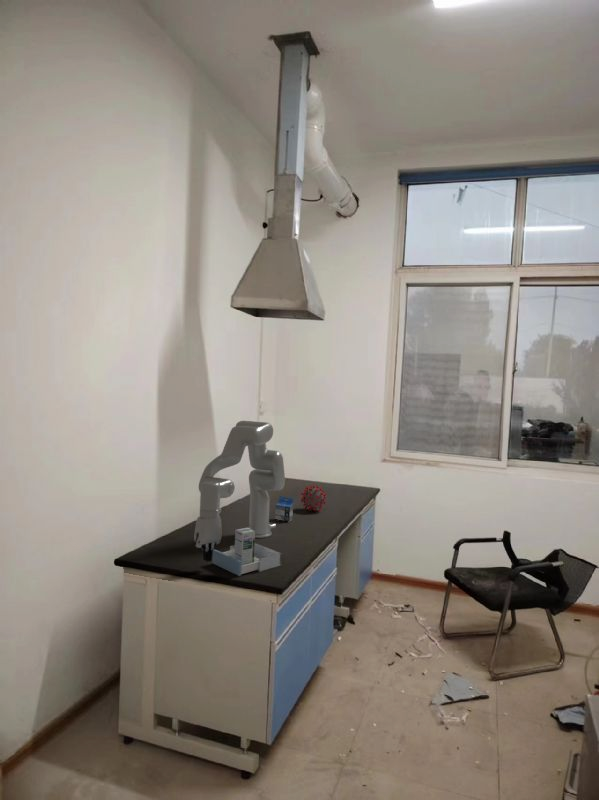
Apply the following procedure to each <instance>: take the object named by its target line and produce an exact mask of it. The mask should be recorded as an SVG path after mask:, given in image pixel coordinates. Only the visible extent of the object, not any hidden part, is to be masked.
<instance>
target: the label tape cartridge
mask: <svg viewBox="0 0 599 800" xmlns="http://www.w3.org/2000/svg"><path fill="white" fill-rule="evenodd" d="M293 509H294V498H292V497H287V496H282V495H279V500H278V502H277V503H276V504H275V516H274V517H275V519H277V520H276V521H279V520H283V521H282V522H285V521H288V522H287V523H291V522H293V514H294V513H293V511H294V510H293ZM290 521H291V522H290Z"/></svg>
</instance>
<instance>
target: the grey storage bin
mask: <svg viewBox="0 0 599 800" xmlns="http://www.w3.org/2000/svg"><path fill="white" fill-rule="evenodd" d="M230 550H235V544H234V545H230V546H229V551H230ZM254 557H255V558H258V559H259V568H258V570H256V571H258V572H259V573H260V572H263V571H267V570H270V569H273V568H278V567H280V566H282V552H279V551H277V550H274V549H272V548H269V547H266V546H264V545H261V544H259V543H256V542H255V546H254Z"/></svg>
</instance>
